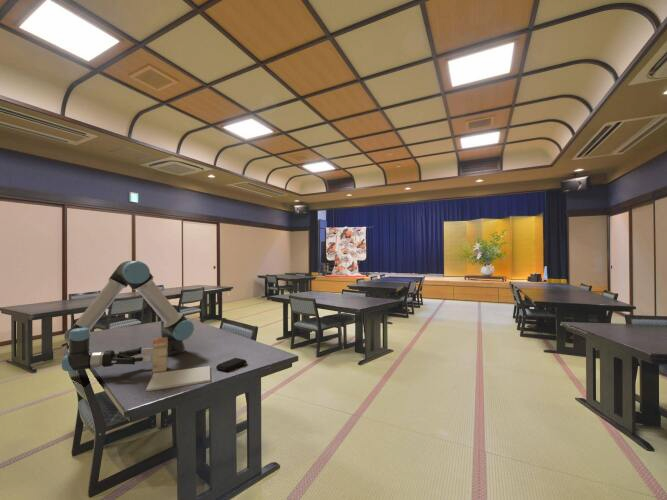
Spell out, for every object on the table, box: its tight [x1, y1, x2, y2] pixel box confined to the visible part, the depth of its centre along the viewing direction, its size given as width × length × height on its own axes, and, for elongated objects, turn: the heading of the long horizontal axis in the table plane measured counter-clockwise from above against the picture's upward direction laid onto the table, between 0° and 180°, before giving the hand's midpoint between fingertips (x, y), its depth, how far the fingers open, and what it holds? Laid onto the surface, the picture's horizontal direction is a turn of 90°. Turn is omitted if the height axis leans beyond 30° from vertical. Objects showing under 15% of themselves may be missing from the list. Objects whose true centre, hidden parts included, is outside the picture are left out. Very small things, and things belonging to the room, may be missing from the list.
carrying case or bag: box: [215, 357, 248, 373], centre depth 162 cm, size 11×3×15 cm
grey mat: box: [145, 365, 211, 392], centre depth 147 cm, size 26×20×1 cm
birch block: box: [152, 337, 168, 374], centre depth 159 cm, size 6×6×16 cm
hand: (153, 353), depth 157 cm, fingers open, 13 cm apart
